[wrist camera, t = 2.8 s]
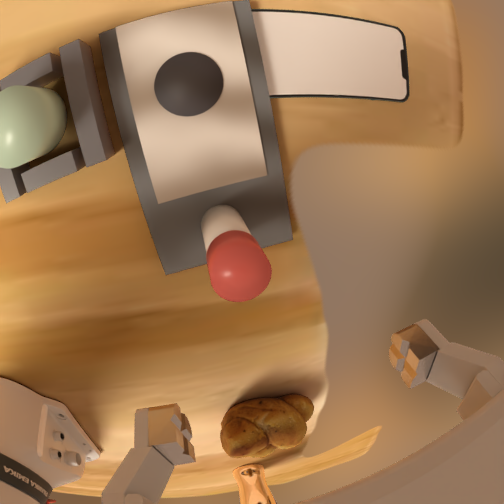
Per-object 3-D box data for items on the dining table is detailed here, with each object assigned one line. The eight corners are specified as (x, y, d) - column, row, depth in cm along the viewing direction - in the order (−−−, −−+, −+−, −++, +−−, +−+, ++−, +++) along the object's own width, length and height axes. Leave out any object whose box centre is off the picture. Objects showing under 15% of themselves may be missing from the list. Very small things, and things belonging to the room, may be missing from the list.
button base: (115, 153, 20) (106, 160, 18) (22, 192, 19) (6, 203, 17) (90, 46, 16) (78, 39, 13) (-3, 94, 15) (-22, 95, 12)
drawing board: (289, 234, 27) (294, 241, 26) (166, 269, 25) (165, 276, 24) (246, 3, 17) (249, -2, 16) (102, 36, 16) (97, 33, 15)
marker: (246, 237, 25) (275, 292, 18) (205, 249, 24) (219, 308, 17) (238, 198, 23) (266, 240, 16) (194, 210, 23) (203, 258, 16)
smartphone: (241, 101, 21) (406, 103, 24) (242, 101, 21) (410, 103, 23) (232, 10, 18) (401, 28, 20) (233, 8, 17) (404, 28, 20)
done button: (74, 141, 17) (52, 149, 13) (19, 167, 16) (-8, 180, 13) (59, 76, 15) (35, 70, 11) (4, 106, 14) (-26, 108, 10)
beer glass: (271, 462, 47) (294, 527, 34) (256, 475, 50) (274, 536, 36) (238, 462, 45) (258, 533, 32) (224, 476, 47) (240, 540, 34)
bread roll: (310, 377, 37) (334, 425, 30) (304, 416, 41) (322, 457, 34) (211, 398, 34) (222, 452, 27) (220, 434, 39) (231, 479, 32)
